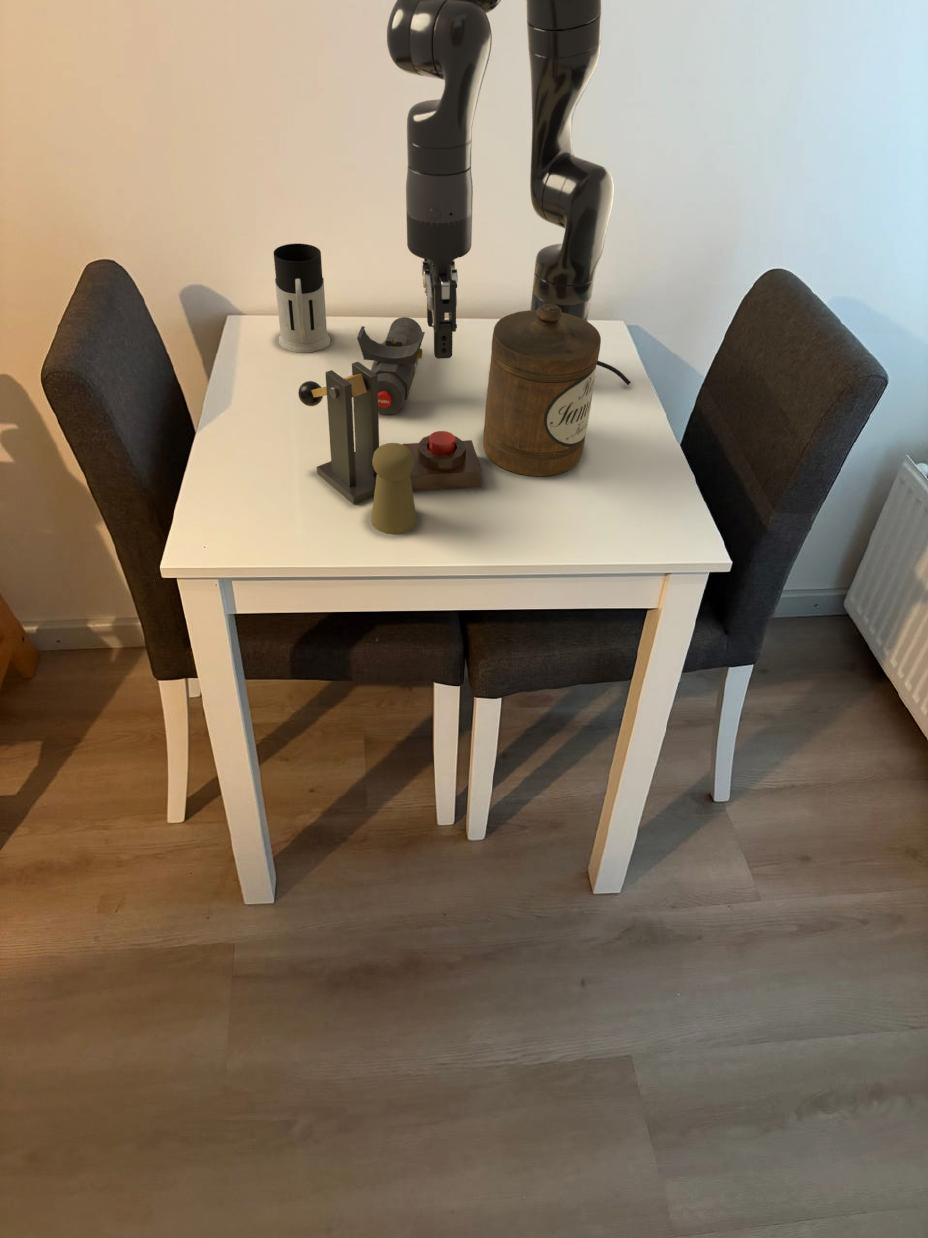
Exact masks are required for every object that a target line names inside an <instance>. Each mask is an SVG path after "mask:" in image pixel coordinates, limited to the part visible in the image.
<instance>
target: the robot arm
mask: <svg viewBox="0 0 928 1238" xmlns="http://www.w3.org/2000/svg"><path fill="white" fill-rule="evenodd" d="M501 1H502V0H396V1H395V3H394V5H393V7H392V9H391V12H390V14H389V18H388V22H387V27H386V46H387V49H388V50H387V51H388V53H389V57H390V58H391V60H392V62H393V63H394V65H395V66H396V67H397V68H398V69H399V70H401V71H403V72H405V73H406V74H409V75H415V76H419V77H426V78H432V79H437V80H442V81H444V86H443V87H444V88H443V92H442V95H441V97H440V98H439V99H428V100H423V101H420V102H417V103H415V104H414V105H413V106H411V107H410V108H409V111H408V113H407V118H406V151H407V156H406V157H407V168H406V169H407V171H406V179H405V204H406V205H405V209H406V211H405V212H406V245H407V249H408V251H409V252H410V253H411V254H412V255H413V256H415V257H417V258H420V259H423V261H421V264H420V265H421V266H420V267H421V276H422V285H423V286H422V287H423V288H424V294H425V296H426V322H427V326H428V327H430V328H432V331H433V355H434V358H435V359H438V360H443V359H444V360H445V359H451V358H452V357H453V337H454V336H453V335H454V334H453V333H455V332H457V328H458V324H457V307H458V295H457V289H458V282H459V276H458V275H459V274H458V269H457V268H456V264H455V260H456V259H459V258H462V257H464V256H466V255H467V254H468V253H469V252H470V251H471V249H472V244H473V243H472V240H473V239H472V237H473V234H472V233H473V232H472V231H473V198H474V191H473V190H474V186H473V185H474V183H473V176H472V146H473V143H472V142H473V140H472V139H473V124H474V120H475V115H476V110H477V106H478V103H479V102H478V101H479V96H480V94H481V89H482V85H483V81H484V78H485V75H486V71H487V68H488V64H489V60H490V57H491V51H492V44H493V38H492V37H493V36H492V28H491V23H490V20H489V17H488V15H487V14H489V13H491V12H492V11H494V9H496V8H497V7H498V5H499V4H500V3H501ZM525 3H526V29H527V32H526V33H527V46H528V47H527V48H528V58H529V72H530V73H529V74H530V91H531V92H530V93H531V95H530V96H531V97H530V98H531V100H530V101H531V149H530V150H531V151H530V152H531V153H530V173H529V175H530V177H529V189H530V190H529V191H530V201H531V205H532V209H533V211H534V212H535V213H536V215H537V216H538V217H539V218H541V220H544V221H546V222H548V223H550V224H552V225H555V226H557V227H560V228H562V229H564V233H563V239H562V242H561V243H553V244H550V245H547V246H544V247H542V248H541V249H540V250H538V252H537V254H536V256H535V260H534V261H535V262H534V270H533V271H534V272H533V280H532V292H531V300H530V309H529V310H537V309H538V308H539V307H540V306H541V305H544V304H547V303H552V304H555V305H557V306H558V307H559V308H560V309H561V311H562V313H566V314H570V315H573V316H576V317H579V318H581V319H583V320H585V321H587V322H589V317H590V311H591V305H592V296H593V291H594V283H595V277H596V271H597V267H598V265H599V262H600V260H601V257H602V255H603V252H604V246H605V242H606V236H607V233H608V226H609V222H610V217H611V214H612V213H611V212H612V208H613V204H614V203H613V202H614V194H615V193H614V192H615V191H614V190H615V185H614V179H613V176H612V174H611V172H610V170H609V169H608V168H606V167H604V166H602V165H600V164H598V163H595V162H592V161H589V160H586V159H583V158H580V157H578V156H576V155H575V154H574V150H573V121H574V115H575V111H576V110H577V109H576V108H577V106H578V104H579V102H580V100H581V98H582V97H583V95H584V93H585V91H586V89H587V87H588V86H589V84H590V82H591V80H592V78H593V76H594V74H595V72H596V69H597V67H598V65H599V61H600V56H601V51H602V50H601V49H602V48H601V47H602V0H526V2H525ZM446 314H448V319H446V316H445V315H446ZM597 366H599V367H600V368H601V367H602V368H604V369H606V370H608V371H610V372H612V373H614V374H615V375H617V376H618V377H619V378H620V379H621V380H622V381H623V382H624V383H625V384H626V386H629V385H630V384H631V383H632V381H631V380H630V379H629V378H628V377H627V376H626V375H625V374H624V373H622V371H620V370H619V369H617V368H616V367H614V366H612V365H610V364H608V363H606V362H603V361H601V360H598V361H597Z"/></svg>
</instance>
